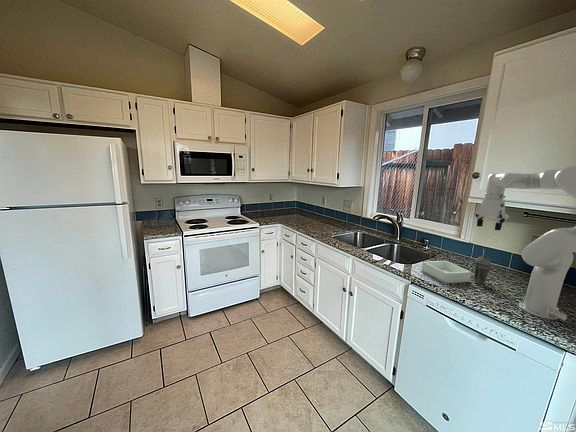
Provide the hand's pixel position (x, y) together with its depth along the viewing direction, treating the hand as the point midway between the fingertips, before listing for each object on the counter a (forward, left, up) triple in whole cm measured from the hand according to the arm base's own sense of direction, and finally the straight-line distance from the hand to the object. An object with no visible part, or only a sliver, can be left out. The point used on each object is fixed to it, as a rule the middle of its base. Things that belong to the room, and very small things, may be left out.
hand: (488, 228), depth 128 cm
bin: (+9, +13, -32) cm, 35 cm away
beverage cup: (-1, 0, -32) cm, 32 cm away
